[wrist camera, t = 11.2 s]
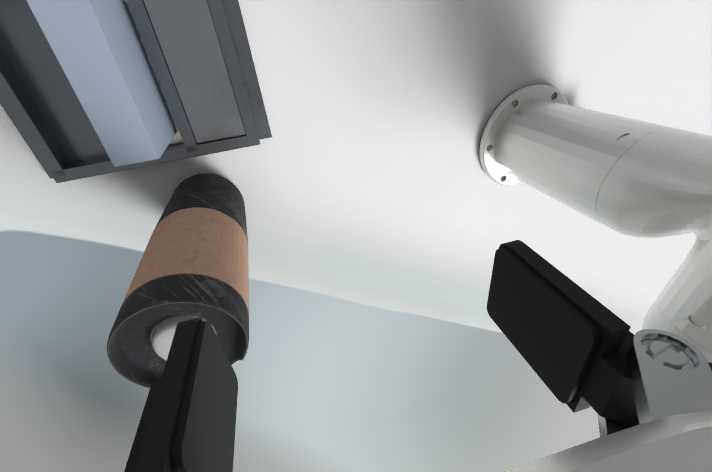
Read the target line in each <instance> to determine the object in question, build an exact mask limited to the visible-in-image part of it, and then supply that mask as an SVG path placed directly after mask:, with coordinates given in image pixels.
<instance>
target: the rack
mask: <svg viewBox="0 0 712 472" xmlns="http://www.w3.org/2000/svg"><path fill="white" fill-rule="evenodd" d="M125 2H126V4H127V7H128V9H129V12H130V15H131V17H132V20H133V22H134V25H135V27H136V30H137V32H138V35H139V37H140V40H141V42H142V45H143V48H144V50H145V53H146V55H147V58H148V60H149V63H150V65H151V68H152V70H153V73H154V75H155V78H156V80H157V83H158V86H159V88H160V91H161V93H162V96H163V98H164V101H165V103H166V106H167V108H168V111H169V113H170V116H171V119H172V121H173V124H174V126H175V129H176V131H177V133H176V134H175V136H174V137H173V139H172V140H171V142H170V143H169V145H168V146H167V148H166V149H165V151H164V152H163V154H162V155H161V157H160V158H159V159H156V160H150V161H145V162H139V163H134V164H128V165H122V166H117V167H114V165H113V163H112V162H111V160H110V158H109V156H108V154H107V152H106V150H105V148H104V146H103V144H102V143H101V141H100V139H99V137H98V135H97V133H96V131H95V129H94V127H93V126H92V124H91V122H90V120H89V118H88V116H87V114H86V112H85V110H84V109H83V107H82V105H81V103H80V101H79V99H78V97H77V95H76V93H75V92H74V90H73V88H72V86H71V84H70V82H69V80H68V78H67V76H66V74H65V73H64V71H63V69H62V67H61V65H60V63H59V61H58V59H57V57H56V56H55V54H54V52H53V50H52V48H51V46H50V44H49V42H48V40H47V39H46V37H45V35H44V33H43V31H42V29H41V27H40V25H39V23H38V21H37V20H36V18H35V16H34V14H33V12H32V10H31V8H30V6H29V4H28V3H27V1H26V0H0V104H1V105H2V107H3V108H4V110H5V111H6V113H7V114H8V116H9V117H10V119H11V120H12V122H13V123H14V125H15V126H16V128H17V129H18V131H19V132H20V134H21V135H22V137H23V138H24V140H25V141H26V143H27V144H28V146H29V147H30V149H31V150H32V152H33V153H34V155H35V156H36V158H37V159H38V161H39V162H40V164H41V165H42V167H43V168H44V170H45V171H46V173H47V174H48V176H49V177H50V179H51V178H54V180H55V181H56V183H60V182H65V181H70V180H75V179H81V178H86V177H91V176H96V175H102V174H107V173H112V172H117V171H123V170H128V169H133V168H138V167H144V166H149V165H154V164H159V163H165V162H170V161H175V160H180V159H186V158H191V157H196V156H201V155H207V154H212V153H217V152H222V151H228V150H233V149H238V148H243V147H249V146H254V145H259V144H260V139H264V138H269V137H272V135H271V131H270V127H269V123H268V119H267V115H266V111H265V107H264V103H263V99H262V95H261V91H260V87H259V83H258V79H257V75H256V71H255V67H254V63H253V59H252V55H251V51H250V47H249V43H248V39H247V35H246V31H245V27H244V23H243V19H242V15H241V11H240V7H239V2H238V0H125Z"/></svg>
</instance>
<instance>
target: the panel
mask: <svg viewBox="0 0 712 472" xmlns="http://www.w3.org/2000/svg"><path fill="white" fill-rule="evenodd" d="M26 1H27V3H28V4H29V6H30V8H31V10H32V12H33V14H34V16H35V18H36V20H37V21H38V23H39V25H40V27H41V29H42V31H43V33H44V35H45V37H46V39H47V40H48V42H49V44H50V46H51V48H52V50H53V52H54V54H55V56H56V57H57V59H58V61H59V63H60V65H61V67H62V69H63V71H64V73H65V74H66V76H67V78H68V80H69V82H70V84H71V86H72V88H73V90H74V92H75V93H76V95H77V97H78V99H79V101H80V103H81V105H82V107H83V109H84V110H85V112H86V114H87V116H88V118H89V120H90V122H91V124H92V126H93V127H94V129H95V131H96V133H97V135H98V137H99V139H100V141H101V143H102V144H103V146H104V148H105V150H106V152H107V154H108V156H109V158H110V160H111V162H112V163H113V165H114V167H117V166H122V165H128V164H134V163H139V162H145V161H150V160H156V159H159V158H160V157H161V155H162V154H163V152H164V151H165V149H166V148H167V146H168V145H169V143H170V142H171V140H172V139H173V137H174V136H175V134H176V133H177V131H176V129H175V126H174V124H173V121H172V119H171V116H170V113H169V111H168V108H167V106H166V103H165V101H164V98H163V96H162V93H161V91H160V88H159V86H158V83H157V80H156V78H155V75H154V73H153V70H152V68H151V65H150V63H149V60H148V58H147V55H146V53H145V50H144V48H143V45H142V42H141V40H140V37H139V35H138V32H137V30H136V27H135V25H134V22H133V20H132V17H131V15H130V12H129V9H128V7H127V4H126V2H125V0H26Z"/></svg>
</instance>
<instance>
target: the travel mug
mask: <svg viewBox="0 0 712 472" xmlns="http://www.w3.org/2000/svg"><path fill="white" fill-rule="evenodd" d="M248 291H249V288H248V238H247V227H246V216H245V206H244V200H243V197H242V195H241V193H240V191H239V190H238V189H237V187H236V186H235V185H234V184H232V183H231V182H230V181H228V180H227V179H225V178H223V177H220V176H217V175H212V174H200V175H195V176H192V177H190V178H188V179H186V180H184V181H183V182H182V183H181V184H180V185H179V186H178V187H177V189H176V190H175V192H174V193H173V195H172V197H171V199H170V201H169V203H168V205H167V206H166V208H165V210H164V212H163V214H162V216H161V218H160V220H159V222H158V223H157V225H156V227H155V229H154V231H153V233H152V236H151V238H150V240H149V243H148V245H147V247H146V250H145V252H144V254H143V257H142V259H141V261H140V264H139V266H138V268H137V271H136V273H135V276H134V278H133V280H132V283H131V285H130V287H129V290H128V292H127V294H126V297H125V299H124V302H123V304H122V306H121V308H120V311H119V313H118V316H117V318H116V320H115V323H114V325H113V327H112V330H111V332H110V335H109V339H108V343H107V352H108V357H109V360H110V362H111V364H112V366H113V367H114V368H115V370H116V371H117V372H118V373H119V374H121V375H122V376H123V377H125V378H126V379H128V380H129V381H131V382H133V383H136V384H138V385H141V386H144V387H148V388H151V385H152V382H153V380H154V379H155V378H156V376H158V375H161V374H163V372H164V368H165V365H166V361H167V358H168V354H169V351H170V347H171V344H172V340H173V337H174V333H175V330H176V326H177V324H178V323H179V322H182V321H186V320H190V319H194V318H198V317H200V318H202V320H203V321H209V322H210V323H211V325H212V327H213V329H214V331H215V333H216V335H217V337H218V339H219V342H220V344H221V346H222V348H223V350H224V352H225V354H226V356H227V358H228V360H229V362H230V364H231V365H232V364H233V363H235V362H236V361H238V360H243V359H244V357H245V355H246V353H247V348H248V342H249V298H248V297H249V293H248Z"/></svg>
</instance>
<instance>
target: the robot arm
mask: <svg viewBox="0 0 712 472" xmlns="http://www.w3.org/2000/svg"><path fill="white" fill-rule="evenodd" d="M480 161H481V166H482V168H483V170H484V172H485V173H486V174H487V175H488V177H489V178H491V179H492V180H494V181H495V182H497V183H499V184H502V185H508V186H510V185H518V184H522V183H526V184H528V185H529V186H531V187H533V188H535V189H537V190H539V191H541V192H543V193H545V194H546V195H548V196H550V197H552V198H554V199H556V200H558V201H560V202H562V203H563V204H565V205H567V206H569V207H571V208H573V209H575V210H577V211H578V212H580V213H582V214H584V215H586V216H588V217H590V218H592V219H594V220H595V221H598V222H600V223H602V224H604V225H605V226H607V227H609V228H611V229H613V230H615V231H617V232H619V233H622V234H625V235H628V236H633V237H639V238H658V237H667V236H674V235H680V234H686V233H692V232H693V233H695V234H696V241H695V244H694V245H693V247H692V248H691V250H690V251H689V253H688V254H687V258H686V259H685V260H684V262H683V263H682V265H681V266H680V267H679V269H678V270H677V271H676V273H675V274H674V275H673V277H672V278H671V279H670V281H669V282H668V283H667V285H666V286H665V288H664V289H663V290H662V292H661V293H660V294H659V296H658V297H657V299H656V300H655V301H654V303H653V304H652V306H651V307H650V309H649V311H648V312H647V314H646V316H645V319H644V322H643V330H641V331H639V332H637V333H636V334H635V335H634V334H632V333H631V332H630V331H629V329H630V326H629V325H628V324H626V323H625V322H624V321H623V320H621V319H620V318H619V317H617V316H616V315H615V314H614V313H612V312H611V311H610V310H609V309H607V308H606V307H605V306H603V305H602V304H601V303H600V302H598V301H597V300H596V299H595V298H593V297H592V296H591V295H589V294H588V293H587V292H586V291H584V290H583V289H582V288H581V287H579V286H578V285H577V284H575V283H574V282H573V281H572V280H570V279H569V278H568V277H566V276H565V275H564V274H563V273H561V272H560V271H559V270H558V269H556V268H555V267H554V266H552V265H551V264H550V263H549V262H547V261H546V260H545V259H544V258H542V257H541V256H540V255H538V254H537V253H536V252H535V251H533V250H532V249H531V248H529V247H528V246H527V245H526V244H524V243H523V242H522V241H520V240H516V241H512V242H508V243H504V244H501V245H500V246H499V249H498V250H496V253H495V258H494V265H493V271H492V277H491V284H490V290H489V296H488V302H487V311H488V314H489V316H490V317H491V318H492V320H493V321H494V322H495V323H496V324H497V326H498V327H499V328H500V329H501V331H502V332H503V333H504V334H505V335H506V337H507V338H508V339H509V340H510V342H511V343H512V344H513V345H514V346H515V348H516V349H517V350H518V351H519V352H520V354H521V355H522V356H523V357H524V359H525V360H526V361H527V362H528V363H529V365H530V366H531V367H532V368H533V370H534V371H535V372H536V373H537V374H538V376H539V377H540V378H541V379H542V380H543V382H544V383H545V384H546V385H547V387H548V388H549V389H550V390H551V392H552V393H553V394H554V395H555V396H556V397H557V399H558V400H559V401H561V402H562V403H566V404H567V405H568V406H569V407H570V409H571V410H572V411H573V412H577V411H580V410H583V409H586V408H589V407H590V405H591V407H593V409H594V410H595V411H596V412H597V413H598V423H599V432H600V438H597V439H594V440H592V441H589V442H586V443H583V444H580V445H578V446H575V447H572V448H569V449H566V450H564V451H561V452H558V453H555V454H552V455H550V456H547V457H544V458H541V459H538V460H535V461H533V462H530V463H527V464H524V465H521V466H518V467H516V468H513V469H510V470H507V471H504V472H712V136H709V135H704V134H699V133H694V132H690V131H685V130H680V129H676V128H670V127H665V126H661V125H656V124H652V123H647V122H642V121H638V120H633V119H629V118H624V117H620V116H615V115H611V114H606V113H601V112H597V111H592V110H588V109H583V108H579V107H574V106H570V105H569V104H568V101H567V99H566V98H565V96H564V95H563V94H562V92H561V91H560V90H558V89H556V88H554V87H552V86H547V85H539V84H535V85H530V86H526V87H524V88H521V89H519V90H517V91H516V92H514V93H513V94H511V95H510V96H508V97H507V98H506V99H505V100H504V101H503V102H502V103H501V104H500V105H499V106H498V107H497V109H496V110H495V111H494V112H493V114H492V116H491V117H490V119H489V120H488V122H487V124H486V127H485V129H484V131H483V135H482V138H481V142H480ZM237 393H238V382H237V377H236V374H235V372H234V370H233V368H232V366H231V364H230V362H229V360H228V358H227V356H226V354H225V352H224V350H223V348H222V346H221V344H220V342H219V339H218V337H217V335H216V333H215V331H214V329H213V327H212V325H211V323H210V322H209V321H203V320H202V318H200V317H198V318H194V319H190V320H186V321H182V322H179V323H178V324H177V326H176V330H175V333H174V337H173V340H172V344H171V347H170V351H169V354H168V358H167V361H166V365H165V368H164V372H163V374H161V375H158V376H156V378H155V379H154V380H153V382H152V385H151V388H150V391H149V394H148V398H147V401H146V404H145V407H144V410H143V413H142V417H141V420H140V423H139V426H138V429H137V433H136V436H135V439H134V442H133V445H132V449H131V452H130V455H129V458H128V461H127V465H126V468H125V471H124V472H232V470H233V456H234V440H235V424H236V408H237Z"/></svg>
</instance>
